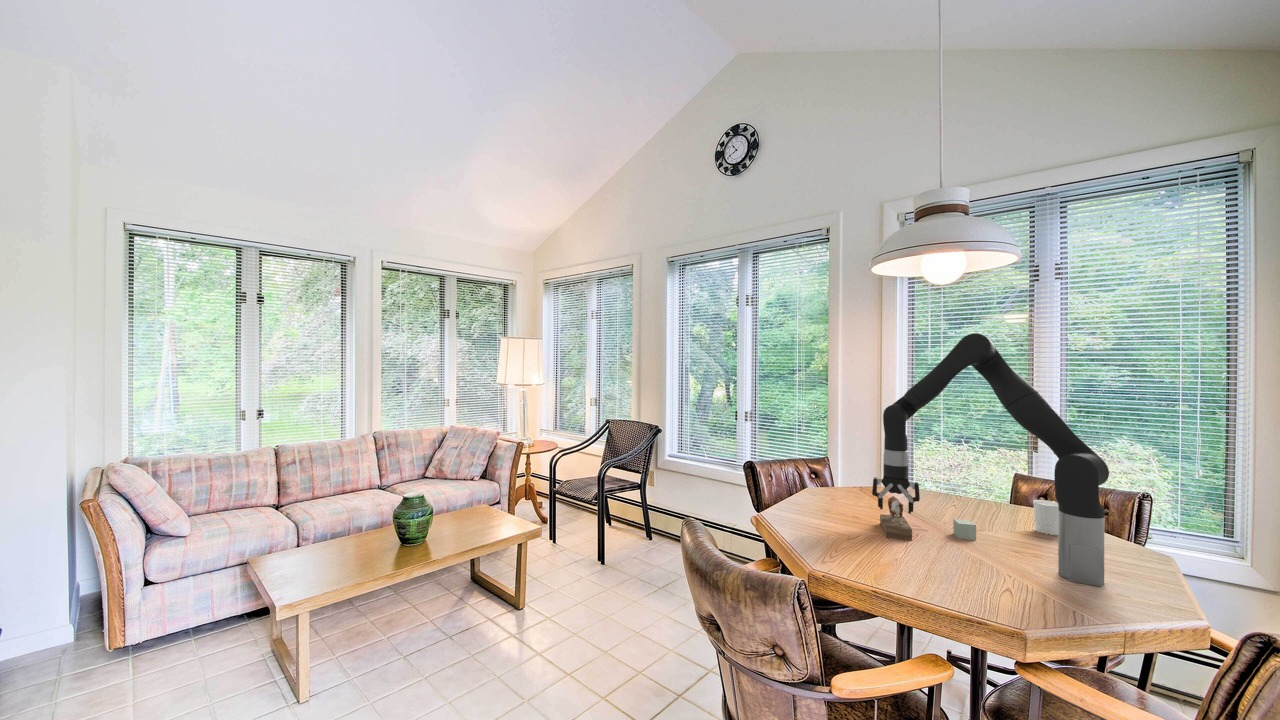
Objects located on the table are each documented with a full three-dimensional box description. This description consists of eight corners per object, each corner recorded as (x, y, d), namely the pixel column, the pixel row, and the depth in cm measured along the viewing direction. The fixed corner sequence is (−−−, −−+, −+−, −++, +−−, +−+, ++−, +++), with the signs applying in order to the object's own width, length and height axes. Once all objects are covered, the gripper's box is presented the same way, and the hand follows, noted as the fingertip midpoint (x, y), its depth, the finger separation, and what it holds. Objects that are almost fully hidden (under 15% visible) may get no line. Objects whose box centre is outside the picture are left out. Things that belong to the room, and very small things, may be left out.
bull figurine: (889, 527, 163) (889, 502, 163) (887, 514, 175) (887, 491, 175) (904, 528, 161) (904, 503, 161) (901, 516, 173) (901, 493, 173)
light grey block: (1028, 530, 172) (1028, 501, 172) (1041, 527, 175) (1041, 498, 175) (1055, 537, 164) (1055, 507, 165) (1068, 534, 168) (1068, 504, 168)
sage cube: (976, 540, 161) (976, 525, 161) (958, 538, 162) (958, 523, 163) (970, 535, 166) (970, 520, 166) (953, 533, 167) (953, 519, 167)
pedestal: (912, 542, 160) (912, 529, 160) (886, 539, 162) (886, 527, 162) (903, 527, 174) (903, 516, 174) (880, 525, 177) (880, 514, 177)
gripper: (871, 462, 169) (871, 510, 169) (919, 467, 162) (919, 517, 162) (873, 459, 175) (873, 505, 175) (920, 463, 168) (919, 511, 168)
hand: (895, 510), depth 168 cm, fingers open, 8 cm apart
